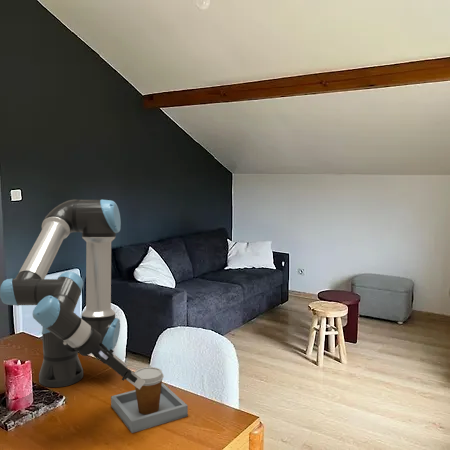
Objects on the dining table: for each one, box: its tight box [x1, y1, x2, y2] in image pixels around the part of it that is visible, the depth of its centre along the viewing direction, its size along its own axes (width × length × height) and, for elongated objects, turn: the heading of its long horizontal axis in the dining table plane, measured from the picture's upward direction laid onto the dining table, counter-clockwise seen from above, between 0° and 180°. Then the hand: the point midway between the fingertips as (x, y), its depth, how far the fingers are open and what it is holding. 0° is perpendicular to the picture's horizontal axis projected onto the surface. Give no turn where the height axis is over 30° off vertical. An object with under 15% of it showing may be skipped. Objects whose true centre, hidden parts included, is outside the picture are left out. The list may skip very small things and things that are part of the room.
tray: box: [110, 382, 189, 434], centre depth 147 cm, size 18×18×4 cm
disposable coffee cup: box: [133, 366, 165, 415], centre depth 146 cm, size 10×10×12 cm
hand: (133, 376), depth 142 cm, fingers open, 13 cm apart
